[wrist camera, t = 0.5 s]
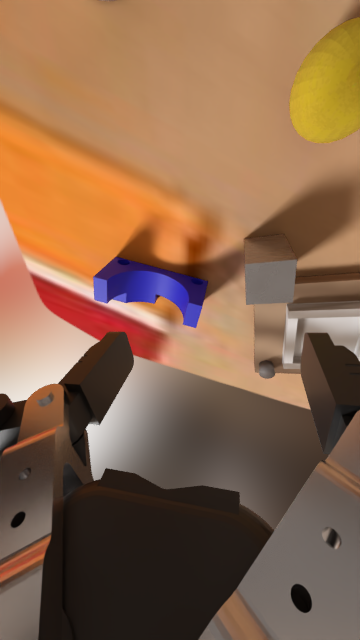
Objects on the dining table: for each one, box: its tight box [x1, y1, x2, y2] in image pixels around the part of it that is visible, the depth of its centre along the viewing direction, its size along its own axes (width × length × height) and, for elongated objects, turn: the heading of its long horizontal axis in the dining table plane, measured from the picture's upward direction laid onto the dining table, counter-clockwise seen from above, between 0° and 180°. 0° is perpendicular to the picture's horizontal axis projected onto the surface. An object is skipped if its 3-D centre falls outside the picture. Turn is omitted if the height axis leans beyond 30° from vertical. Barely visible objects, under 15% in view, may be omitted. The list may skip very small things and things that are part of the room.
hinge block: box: [244, 234, 297, 305], centre depth 23 cm, size 4×4×7 cm
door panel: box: [254, 273, 360, 379], centre depth 28 cm, size 14×16×3 cm
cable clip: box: [93, 257, 208, 328], centre depth 29 cm, size 12×4×6 cm, turn 79°
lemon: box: [289, 17, 360, 143], centre depth 15 cm, size 6×6×8 cm
